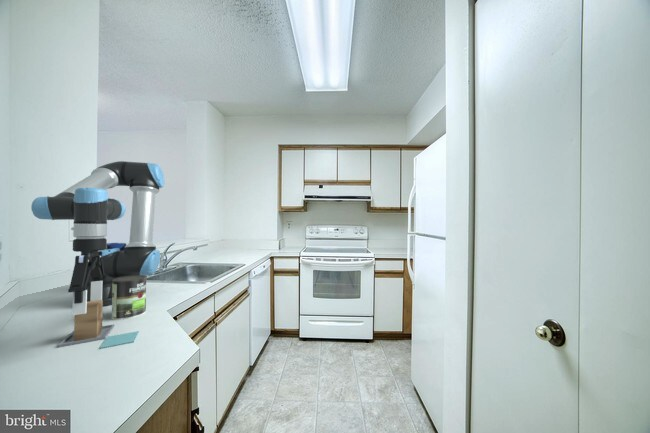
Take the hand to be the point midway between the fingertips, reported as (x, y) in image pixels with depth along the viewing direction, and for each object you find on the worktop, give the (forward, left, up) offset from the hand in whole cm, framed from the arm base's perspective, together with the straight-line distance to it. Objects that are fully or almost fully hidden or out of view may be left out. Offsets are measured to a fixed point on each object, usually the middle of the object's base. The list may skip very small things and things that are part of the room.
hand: (88, 307), depth 74 cm
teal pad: (+8, +9, -9) cm, 15 cm away
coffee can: (-16, +7, -10) cm, 20 cm away
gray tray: (0, 0, -9) cm, 9 cm away
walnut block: (0, 0, -9) cm, 9 cm away
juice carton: (-66, -8, -9) cm, 67 cm away
